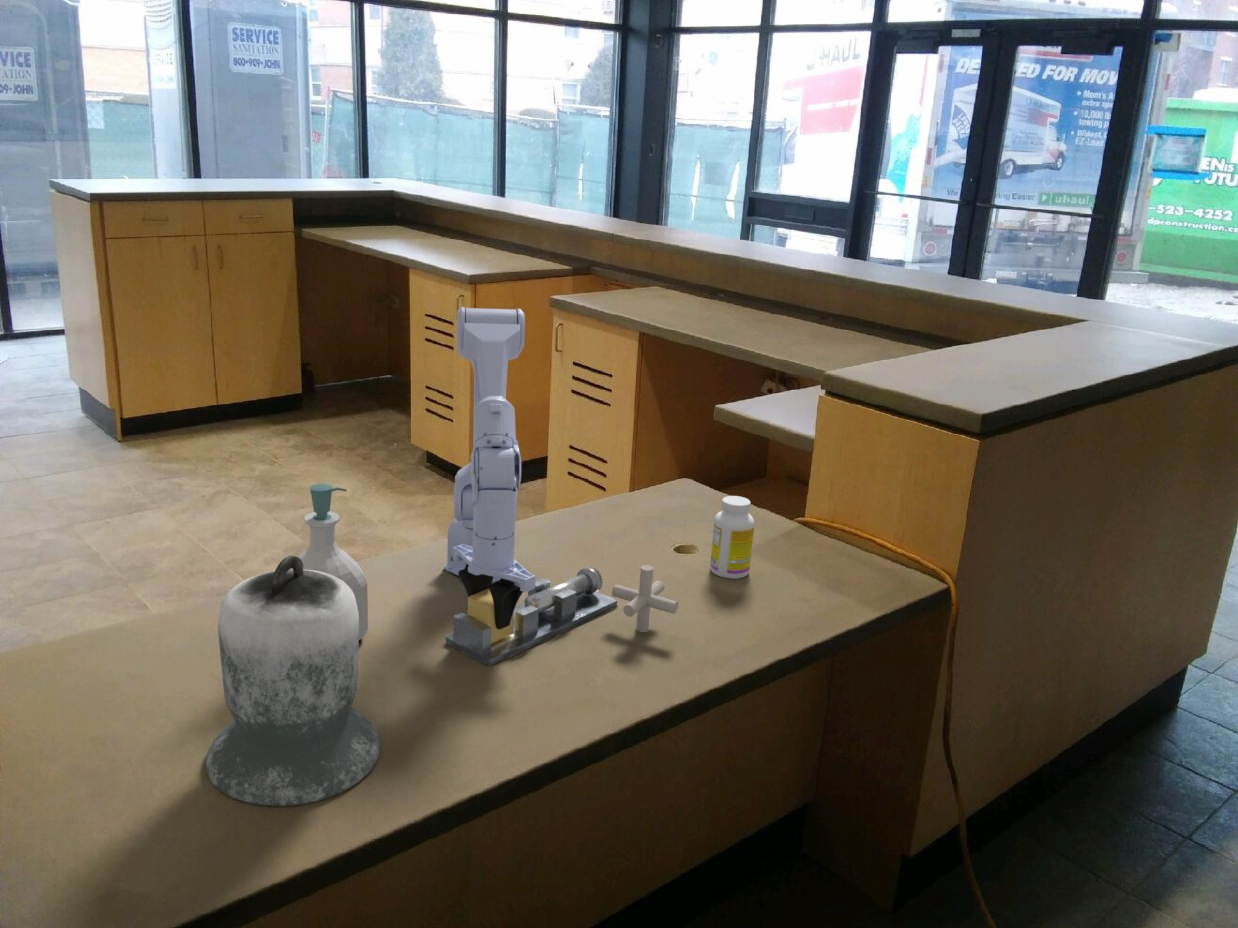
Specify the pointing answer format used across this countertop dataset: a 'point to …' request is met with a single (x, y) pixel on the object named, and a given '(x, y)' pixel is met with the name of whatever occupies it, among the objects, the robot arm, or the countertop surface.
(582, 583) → the shaft
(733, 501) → the supplement bottle
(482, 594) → the block
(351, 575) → the soap bottle
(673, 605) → the white crossed rods piece
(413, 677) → the countertop surface
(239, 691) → the bell
